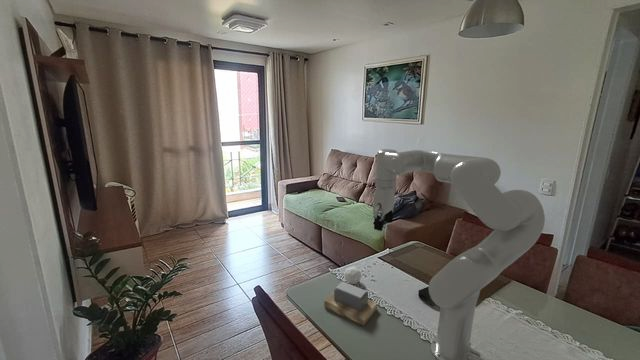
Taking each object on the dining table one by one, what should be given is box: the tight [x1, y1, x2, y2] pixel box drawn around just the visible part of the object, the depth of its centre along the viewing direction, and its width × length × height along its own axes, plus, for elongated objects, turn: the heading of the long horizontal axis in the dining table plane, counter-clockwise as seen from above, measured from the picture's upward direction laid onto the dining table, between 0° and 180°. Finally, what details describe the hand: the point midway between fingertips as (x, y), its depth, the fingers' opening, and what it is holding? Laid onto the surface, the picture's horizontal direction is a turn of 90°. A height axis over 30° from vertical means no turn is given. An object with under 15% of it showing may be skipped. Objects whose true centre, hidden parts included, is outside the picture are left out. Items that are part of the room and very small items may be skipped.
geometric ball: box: [343, 266, 362, 285], centre depth 133 cm, size 8×8×8 cm
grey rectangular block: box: [333, 281, 369, 312], centre depth 115 cm, size 6×12×6 cm, turn 55°
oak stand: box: [323, 291, 378, 326], centre depth 116 cm, size 18×11×3 cm, turn 55°
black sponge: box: [417, 285, 436, 306], centre depth 124 cm, size 16×8×4 cm, turn 120°
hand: (383, 225), depth 112 cm, fingers open, 9 cm apart
